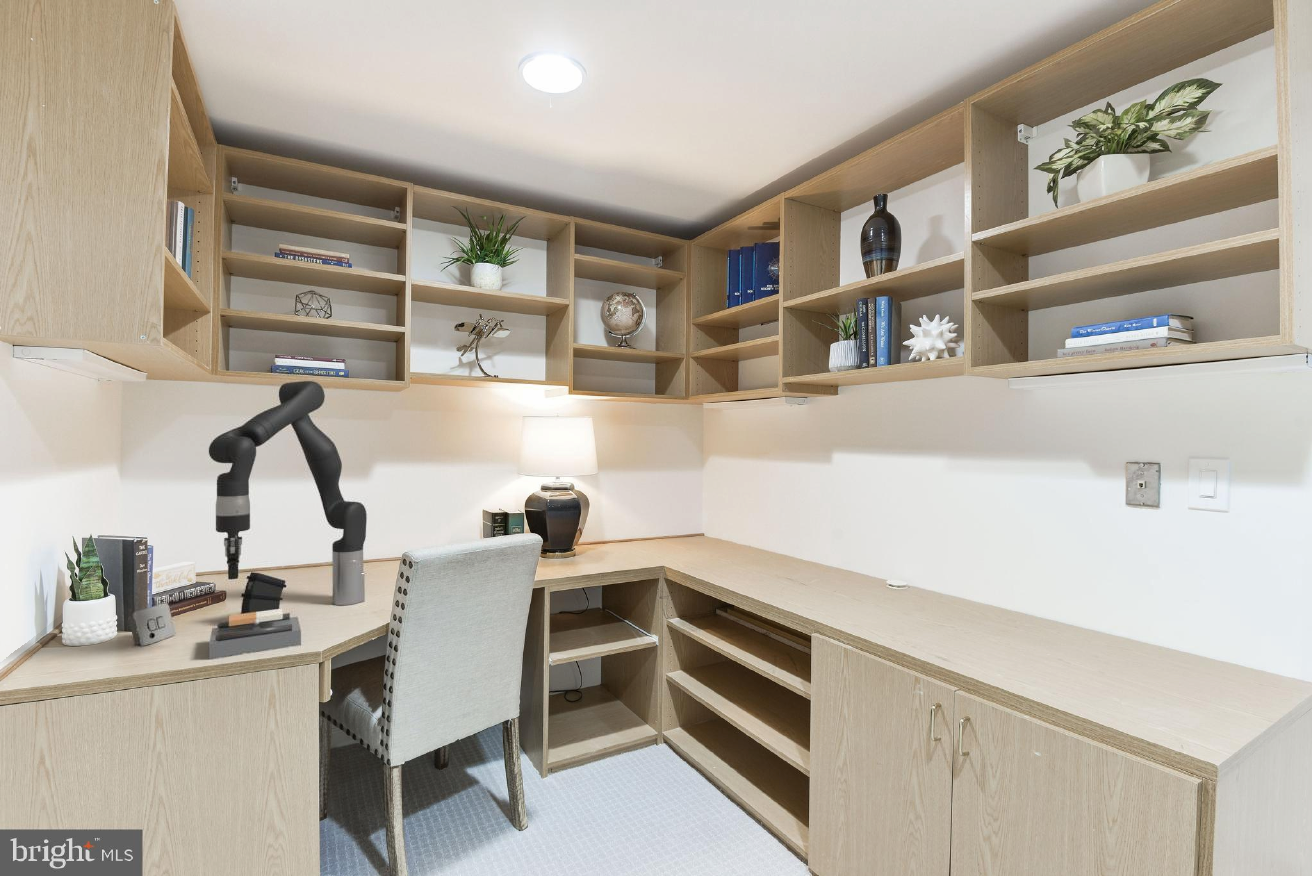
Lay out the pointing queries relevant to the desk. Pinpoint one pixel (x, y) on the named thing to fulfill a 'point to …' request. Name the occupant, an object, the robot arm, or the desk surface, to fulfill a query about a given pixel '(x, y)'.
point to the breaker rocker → (255, 617)
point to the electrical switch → (152, 624)
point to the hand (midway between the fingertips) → (233, 578)
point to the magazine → (262, 593)
